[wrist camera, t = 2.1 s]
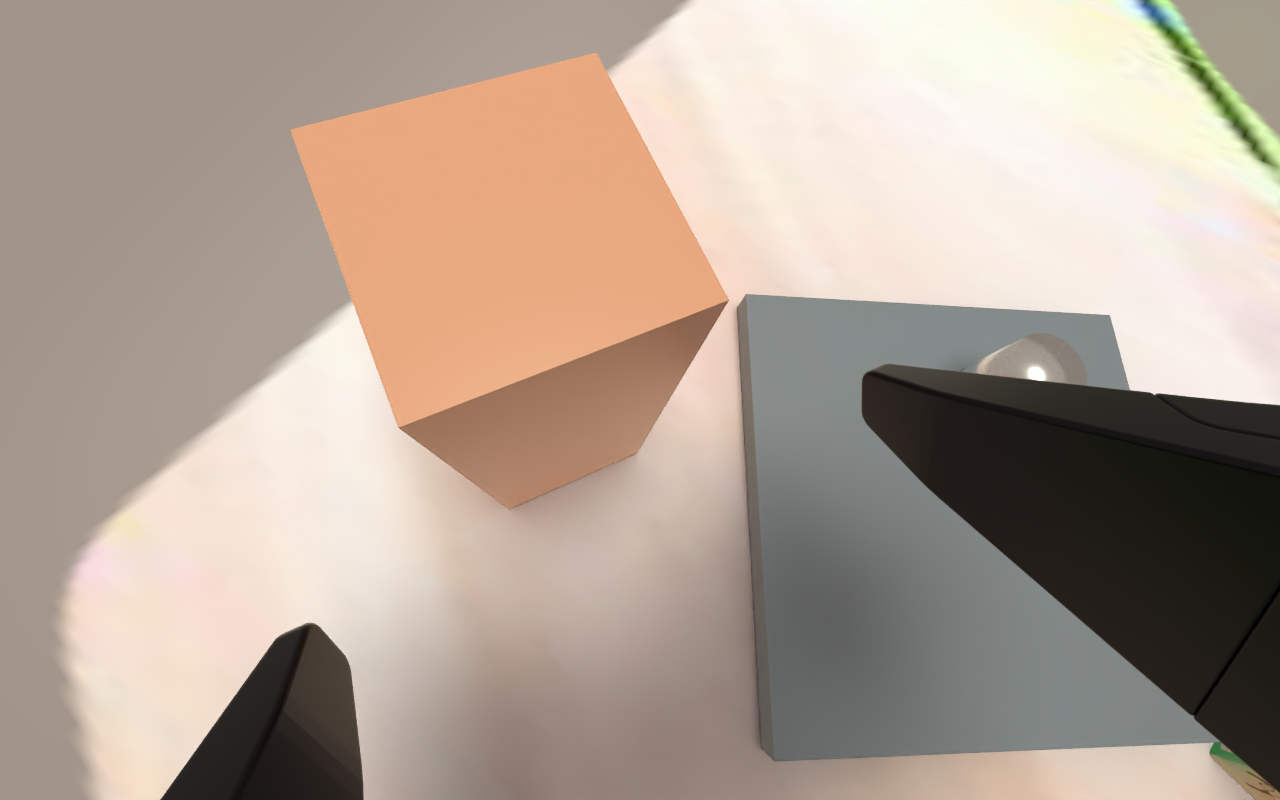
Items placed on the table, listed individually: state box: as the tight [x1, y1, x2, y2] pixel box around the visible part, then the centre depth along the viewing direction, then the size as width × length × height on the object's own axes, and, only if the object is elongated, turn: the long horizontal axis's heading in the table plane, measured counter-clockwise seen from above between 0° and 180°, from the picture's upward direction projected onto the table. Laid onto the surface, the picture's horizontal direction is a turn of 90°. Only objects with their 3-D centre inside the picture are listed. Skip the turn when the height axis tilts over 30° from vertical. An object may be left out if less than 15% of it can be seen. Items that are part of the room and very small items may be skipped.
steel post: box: [957, 333, 1087, 386], centre depth 20 cm, size 3×3×5 cm
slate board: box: [737, 294, 1220, 761], centre depth 20 cm, size 16×16×1 cm
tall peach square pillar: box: [291, 53, 729, 509], centre depth 14 cm, size 5×5×12 cm
